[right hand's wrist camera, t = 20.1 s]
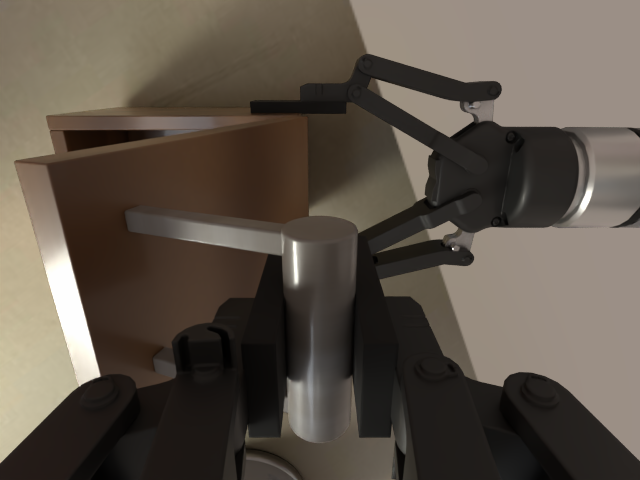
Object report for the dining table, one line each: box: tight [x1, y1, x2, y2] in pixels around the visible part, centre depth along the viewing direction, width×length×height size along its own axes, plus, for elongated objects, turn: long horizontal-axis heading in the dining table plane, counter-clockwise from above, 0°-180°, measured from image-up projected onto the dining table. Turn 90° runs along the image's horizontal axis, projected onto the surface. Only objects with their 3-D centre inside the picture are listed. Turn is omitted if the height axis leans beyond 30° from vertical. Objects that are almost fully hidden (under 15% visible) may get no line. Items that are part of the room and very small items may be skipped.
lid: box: [14, 116, 358, 443], centre depth 17 cm, size 17×10×8 cm
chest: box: [46, 107, 302, 154], centre depth 31 cm, size 16×10×10 cm, turn 90°
